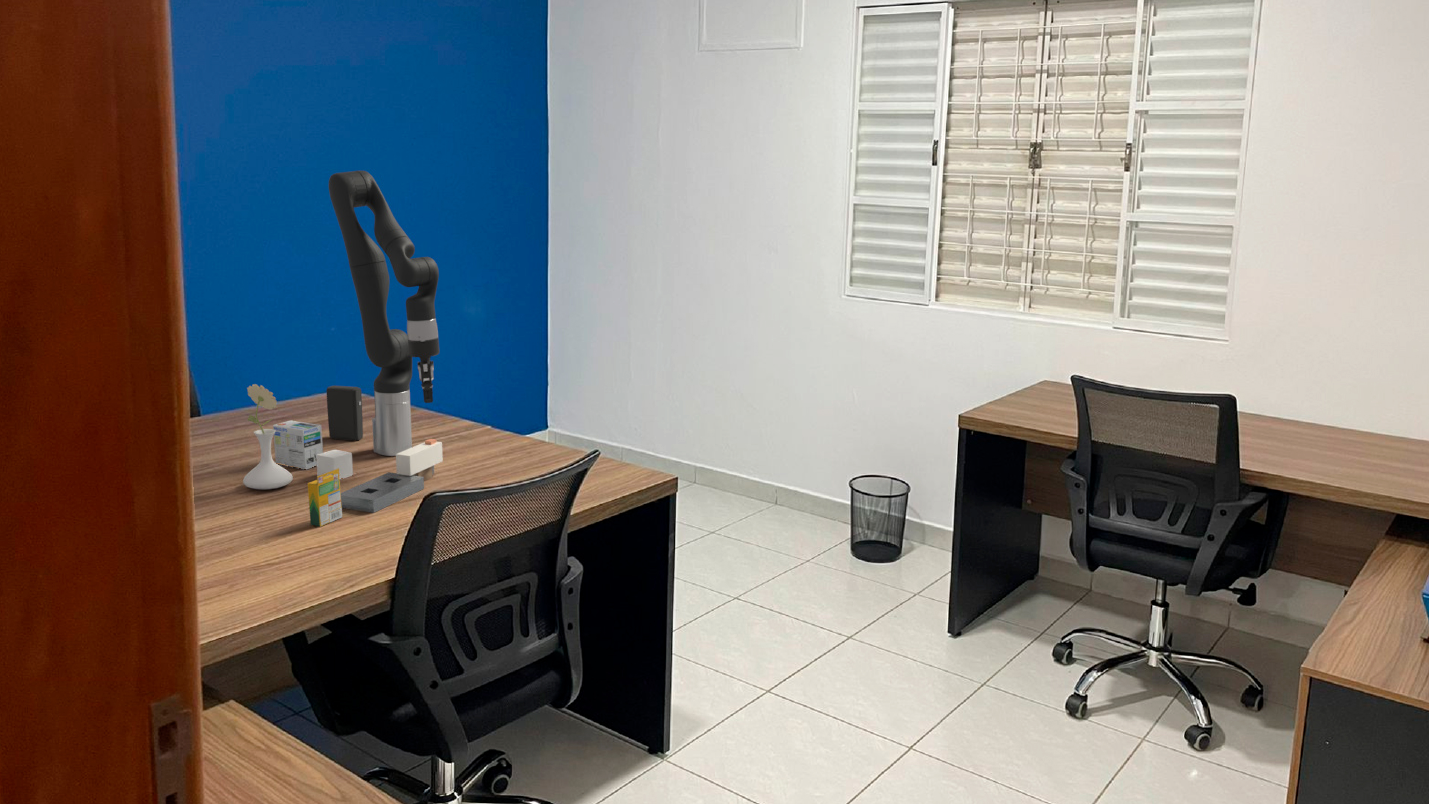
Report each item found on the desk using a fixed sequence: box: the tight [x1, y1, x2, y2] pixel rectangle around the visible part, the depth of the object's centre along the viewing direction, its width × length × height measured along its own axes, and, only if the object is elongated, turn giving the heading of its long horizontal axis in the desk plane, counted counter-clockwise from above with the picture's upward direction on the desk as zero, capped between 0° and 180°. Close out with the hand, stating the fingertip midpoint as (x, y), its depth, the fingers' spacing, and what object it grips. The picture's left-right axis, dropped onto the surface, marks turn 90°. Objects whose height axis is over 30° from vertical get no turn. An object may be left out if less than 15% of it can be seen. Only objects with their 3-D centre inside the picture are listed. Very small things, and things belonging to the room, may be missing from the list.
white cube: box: [316, 449, 354, 480], centre depth 288 cm, size 6×6×6 cm
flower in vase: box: [242, 383, 294, 490], centre depth 277 cm, size 13×11×25 cm
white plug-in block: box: [395, 438, 444, 476], centre depth 286 cm, size 14×4×9 cm, turn 160°
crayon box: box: [307, 468, 343, 528], centre depth 254 cm, size 7×3×12 cm, turn 157°
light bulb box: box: [272, 419, 324, 470], centre depth 297 cm, size 11×7×11 cm, turn 65°
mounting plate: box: [341, 472, 425, 514], centre depth 272 cm, size 20×10×3 cm, turn 160°
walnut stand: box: [414, 466, 433, 482], centre depth 287 cm, size 6×3×3 cm, turn 160°
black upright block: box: [326, 385, 364, 441], centre depth 322 cm, size 9×4×15 cm, turn 80°
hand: (428, 398), depth 295 cm, fingers open, 8 cm apart
